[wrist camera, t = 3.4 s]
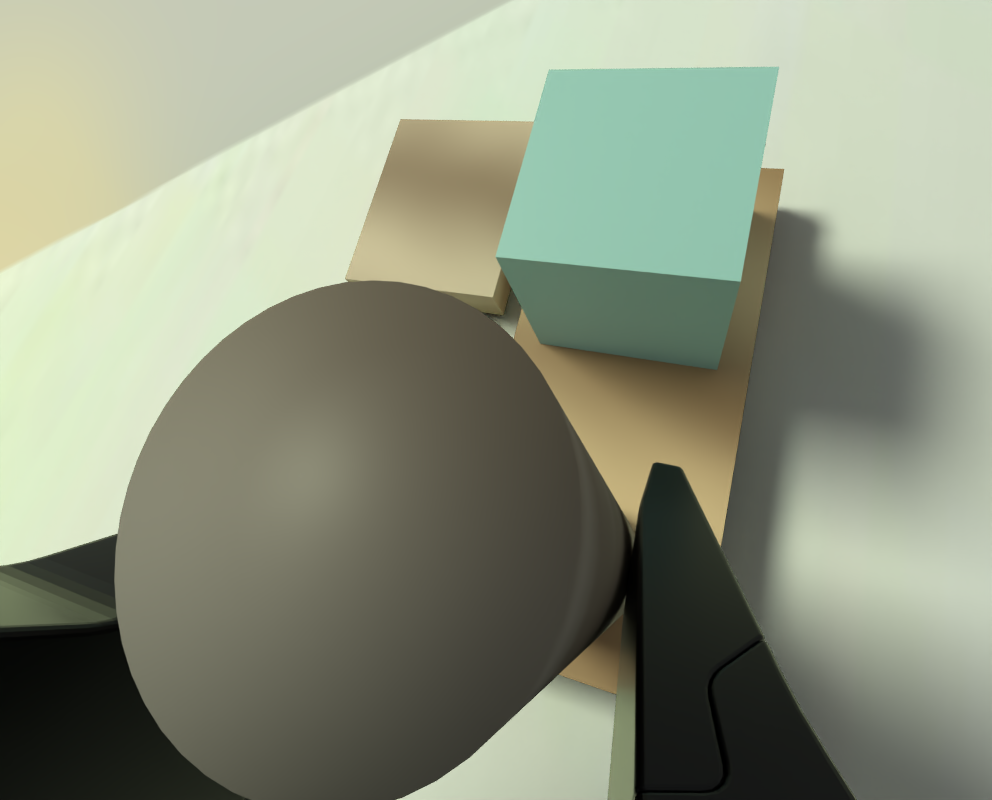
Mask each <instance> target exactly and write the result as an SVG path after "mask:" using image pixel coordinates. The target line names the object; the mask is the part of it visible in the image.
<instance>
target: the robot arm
mask: <svg viewBox="0 0 992 800" xmlns="http://www.w3.org/2000/svg"><path fill="white" fill-rule="evenodd" d="M117 536H118V534H115V535H112V536H109V537H105V538H102V539H99V540H96V541H93V542H89V543H86V544H83V545H80V546H77V547H73V548H70V549H67V550H64V551H60V552H57V553H54V554H51V555H48V556H44V557H41V558H37V559H34V560H30V561H26V562H21V563H16V564H10V565H3V566H0V800H250V799H248V798H245V797H243V796H240V795H238V794H236V793H233V792H231V791H230V790H228V789H227V788H225V787H223V786H222V785H220V784H219V783H217V782H215V781H214V780H212V779H211V778H209V777H207V776H206V775H205V774H203V773H202V772H201V771H200V770H199V769H198V768H197V767H195V766H194V765H193V764H192V763H191V762H190V761H188V760H187V759H186V758H185V757H184V756H183V755H182V754H181V753H180V752H179V751H178V750H177V748H176V747H175V746H174V745H173V744H172V743H171V741H170V740H169V739H168V738H167V737H166V735H165V734H164V733H163V732H162V731H161V729H160V728H159V726H158V724H157V723H156V721H155V720H154V718H153V716H152V715H151V713H150V711H149V710H148V708H147V707H146V705H145V703H144V701H143V699H142V697H141V695H140V692H139V690H138V688H137V686H136V683H135V681H134V679H133V677H132V674H131V672H130V668H129V665H128V662H127V658H126V655H125V652H124V648H123V645H122V641H121V635H120V629H119V624H118V618H117V612H116V598H115V582H114V577H115V554H116V543H117ZM608 800H857V799H856V798H855V796H854V794H853V793H852V791H851V790H850V788H849V787H848V785H847V783H846V782H845V780H844V779H843V777H842V776H841V774H840V772H839V771H838V769H837V768H836V766H835V764H834V763H833V761H832V760H831V758H830V756H829V755H828V753H827V751H826V750H825V748H824V746H823V745H822V743H821V741H820V740H819V738H818V736H817V735H816V733H815V732H814V730H813V728H812V727H811V725H810V723H809V722H808V720H807V718H806V717H805V715H804V713H803V712H802V710H801V708H800V706H799V704H798V702H797V700H796V698H795V696H794V694H793V693H792V691H791V689H790V687H789V685H788V683H787V681H786V679H785V677H784V676H783V674H782V672H781V670H780V668H779V666H778V664H777V662H776V659H775V657H774V655H773V653H772V651H771V649H770V647H769V645H768V643H767V642H765V641H764V635H763V633H762V631H761V629H760V627H759V625H758V623H757V621H756V619H755V617H754V615H753V613H752V611H751V609H750V607H749V604H748V602H747V600H746V598H745V596H744V594H743V592H742V590H741V588H740V586H739V584H738V582H737V580H736V578H735V576H734V574H733V572H732V570H731V567H730V565H729V563H728V561H727V559H726V557H725V555H724V553H723V551H722V549H721V547H720V545H719V543H718V541H717V539H716V537H715V535H714V533H713V531H712V528H711V526H710V524H709V522H708V520H707V518H706V516H705V514H704V512H703V510H702V508H701V506H700V504H699V502H698V500H697V498H696V496H695V494H694V491H693V489H692V487H691V485H690V483H689V481H688V479H687V477H686V475H685V473H684V471H683V469H682V468H681V467H679V466H674V465H669V464H664V463H659V462H656V463H653V464H652V466H651V470H650V473H649V476H648V479H647V482H646V486H645V489H644V492H643V495H642V498H641V502H640V506H639V511H638V518H637V524H636V531H635V538H634V545H633V552H632V558H631V565H630V572H629V579H628V585H627V592H626V599H625V606H624V614H623V622H622V634H621V646H620V658H619V670H618V682H617V694H616V706H615V718H614V729H613V741H612V753H611V765H610V777H609V789H608Z"/></svg>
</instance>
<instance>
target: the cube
mask: <svg viewBox="0 0 992 800" xmlns="http://www.w3.org/2000/svg"><path fill="white" fill-rule="evenodd" d="M778 70H779V67H726V68H648V69H570V70H549V72H548V75H547V78H546V82H545V85H544V89H543V92H542V96H541V99H540V103H539V106H538V110H537V113H536V117H535V120H534V124H533V127H532V131H531V134H530V138H529V141H528V145H527V148H526V152H525V155H524V159H523V162H522V166H521V169H520V173H519V176H518V180H517V183H516V187H515V190H514V193H513V197H512V200H511V204H510V207H509V211H508V214H507V218H506V221H505V225H504V228H503V232H502V235H501V239H500V242H499V246H498V249H497V253H496V256H495V257H496V259H497V261H498V263H499V265H500V267H501V269H502V271H503V273H504V275H505V276H506V278H507V280H508V282H509V284H510V286H511V288H512V290H513V292H514V294H515V296H516V298H517V300H518V302H519V304H520V305H521V307H522V309H523V311H524V313H525V315H526V317H527V319H528V321H529V323H530V325H531V327H532V329H533V331H534V332H535V334H536V336H537V338H538V340H539V342H540V344H546V345H553V346H560V347H566V348H573V349H580V350H586V351H593V352H600V353H606V354H613V355H620V356H626V357H633V358H640V359H646V360H653V361H660V362H666V363H673V364H680V365H686V366H693V367H700V368H706V369H713V370H717V369H718V365H719V361H720V357H721V354H722V350H723V346H724V342H725V339H726V335H727V331H728V327H729V324H730V320H731V316H732V312H733V309H734V305H735V301H736V297H737V294H738V290H739V286H740V282H741V277H742V271H743V266H744V260H745V255H746V249H747V243H748V238H749V232H750V227H751V221H752V215H753V210H754V204H755V199H756V193H757V187H758V182H759V176H760V171H761V165H762V159H763V154H764V148H765V143H766V137H767V131H768V126H769V120H770V115H771V109H772V103H773V98H774V92H775V87H776V81H777V75H778Z"/></svg>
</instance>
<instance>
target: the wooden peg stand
mask: <svg viewBox="0 0 992 800" xmlns="http://www.w3.org/2000/svg"><path fill="white" fill-rule="evenodd" d="M783 173H784V169H769V168H761V171H760V176H759V182H758V187H757V193H756V199H755V204H754V210H753V215H752V221H751V227H750V232H749V238H748V243H747V249H746V255H745V260H744V266H743V271H742V277H741V282H740V286H739V290H738V294H737V297H736V301H735V305H734V309H733V312H732V316H731V320H730V324H729V327H728V331H727V335H726V339H725V342H724V346H723V350H722V354H721V357H720V361H719V365H718V369H717V370H713V369H706V368H700V367H693V366H686V365H680V364H673V363H666V362H660V361H653V360H646V359H640V358H633V357H626V356H620V355H613V354H606V353H600V352H593V351H586V350H580V349H573V348H566V347H560V346H553V345H546V344H540V342H539V340H538V338H537V336H536V334H535V332H534V331H533V329H532V327H531V325H530V323H529V321H528V319H527V317H526V315H525V313H524V311H523V309H522V310H521V314H520V317H519V321H518V325H517V328H516V332H515V336H514V339H513V338H512V337H511V336H510V335H509V334H508V333H507V332H506V331H505V330H504V329H503V328H502V327H501V326H500V325H498V324H497V323H495V322H494V321H493V320H491V319H490V318H489V317H487V316H486V315H484V314H483V313H482V312H480V311H479V310H477V309H476V308H474V307H472V306H470V305H468V304H466V303H464V302H462V301H460V300H459V299H457V298H455V297H453V296H450V295H448V294H445V293H442V292H439V291H436V290H433V289H430V288H427V287H423V286H418V285H413V284H408V283H403V282H394V281H376V280H370V281H357V282H345V283H340V284H335V285H331V286H326V287H321V288H317V289H314V290H311V291H308V292H305V293H302V294H299V295H296V296H294V297H291V298H289V299H287V300H285V301H283V302H281V303H279V304H276V305H274V306H272V307H270V308H268V309H267V310H265V311H263V312H262V313H260V314H258V315H257V316H255V317H253V318H252V319H250V320H249V321H247V322H245V323H244V324H243V325H241V326H240V327H239V328H237V329H236V330H235V331H233V332H232V333H231V334H230V335H228V336H227V337H226V338H224V339H223V340H222V341H221V342H220V343H219V344H218V345H217V346H216V347H214V348H213V349H212V350H211V351H210V352H209V353H208V354H207V355H206V356H205V357H204V358H203V359H202V360H201V361H200V362H199V363H198V364H197V366H196V367H195V368H194V369H193V370H192V371H191V372H190V374H189V375H188V376H187V377H186V378H185V379H184V380H183V382H182V383H181V384H180V386H179V387H178V389H177V390H176V391H175V393H174V394H173V396H172V397H171V398H170V400H169V401H168V403H167V404H166V405H165V407H164V409H163V411H162V412H161V414H160V416H159V417H158V419H157V421H156V423H155V424H154V426H153V428H152V429H151V431H150V433H149V436H148V438H147V440H146V442H145V444H144V446H143V449H142V451H141V453H140V455H139V457H138V460H137V462H136V465H135V468H134V471H133V474H132V477H131V480H130V482H129V485H128V488H127V492H126V496H125V500H124V504H123V508H122V513H121V517H120V523H119V530H118V536H117V543H116V554H115V577H114V582H115V598H116V612H117V618H118V624H119V629H120V635H121V641H122V645H123V648H124V652H125V655H126V658H127V662H128V665H129V668H130V672H131V674H132V677H133V679H134V681H135V683H136V686H137V688H138V690H139V692H140V695H141V697H142V699H143V701H144V703H145V705H146V707H147V708H148V710H149V711H150V713H151V715H152V716H153V718H154V720H155V721H156V723H157V724H158V726H159V728H160V729H161V731H162V732H163V733H164V734H165V735H166V737H167V738H168V739H169V740H170V741H171V743H172V744H173V745H174V746H175V747H176V748H177V750H178V751H179V752H180V753H181V754H182V755H183V756H184V757H185V758H186V759H187V760H188V761H190V762H191V763H192V764H193V765H194V766H195V767H197V768H198V769H199V770H200V771H201V772H202V773H203V774H205V775H206V776H207V777H209V778H211V779H212V780H214V781H215V782H217V783H219V784H220V785H222V786H223V787H225V788H227V789H228V790H230V791H231V792H233V793H236V794H238V795H240V796H243V797H245V798H248V799H250V800H396V799H399V798H402V797H404V796H406V795H409V794H411V793H413V792H415V791H417V790H419V789H421V788H423V787H425V786H427V785H429V784H431V783H433V782H435V781H437V780H438V779H440V778H441V777H443V776H444V775H445V774H447V773H448V772H450V771H451V770H452V769H454V768H455V767H457V766H458V765H460V764H461V763H462V762H464V761H465V760H467V759H468V758H470V757H471V756H472V755H473V754H474V753H475V752H476V751H477V750H478V749H479V748H480V747H481V746H482V745H483V744H485V743H486V742H487V741H488V740H489V739H490V738H491V737H492V736H493V735H494V734H495V733H496V732H497V731H498V730H500V729H501V728H502V727H503V726H504V725H505V724H506V723H507V722H508V721H509V720H510V719H511V718H512V717H513V716H515V715H516V714H517V713H518V712H519V711H520V710H521V709H522V708H523V707H524V706H525V705H526V704H527V703H529V702H530V701H531V700H532V699H533V698H534V697H535V696H536V695H537V694H538V693H539V692H540V691H541V690H542V689H544V688H545V687H546V686H547V685H548V684H549V683H550V682H551V681H552V680H553V679H554V678H555V677H556V676H557V675H561V676H564V677H567V678H570V679H573V680H576V681H579V682H581V683H584V684H587V685H590V686H593V687H596V688H599V689H602V690H605V691H608V692H611V693H614V694H617V682H618V670H619V658H620V646H621V634H622V622H623V614H624V606H625V599H626V592H627V585H628V579H629V572H630V565H631V558H632V552H633V545H634V538H635V531H636V524H637V518H638V511H639V506H640V502H641V498H642V495H643V492H644V489H645V486H646V482H647V479H648V476H649V473H650V470H651V466H652V464H653V463H656V462H659V463H664V464H669V465H674V466H679V467H681V468H682V469H683V471H684V473H685V475H686V477H687V479H688V481H689V483H690V485H691V487H692V489H693V491H694V494H695V496H696V498H697V500H698V502H699V504H700V506H701V508H702V510H703V512H704V514H705V516H706V518H707V520H708V522H709V524H710V526H711V528H712V531H713V533H714V535H715V537H716V539H717V541H718V543H719V545H720V547H721V542H722V537H723V531H724V525H725V519H726V513H727V507H728V501H729V495H730V489H731V483H732V477H733V471H734V465H735V459H736V453H737V447H738V441H739V435H740V429H741V423H742V417H743V411H744V406H745V400H746V394H747V388H748V382H749V376H750V370H751V364H752V358H753V352H754V346H755V340H756V334H757V328H758V322H759V316H760V310H761V304H762V298H763V292H764V286H765V280H766V274H767V269H768V263H769V257H770V251H771V245H772V239H773V233H774V227H775V221H776V215H777V209H778V203H779V197H780V191H781V185H782V179H783Z"/></svg>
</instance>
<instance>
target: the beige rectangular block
mask: <svg viewBox="0 0 992 800" xmlns="http://www.w3.org/2000/svg"><path fill="white" fill-rule="evenodd" d="M533 124H534V122H521V121H466V120H410V119H401V120H400V123H399V125H398V128H397V131H396V134H395V137H394V140H393V143H392V145H391V148H390V151H389V154H388V157H387V160H386V163H385V166H384V168H383V171H382V174H381V177H380V180H379V183H378V186H377V188H376V191H375V194H374V197H373V200H372V203H371V206H370V209H369V211H368V214H367V217H366V220H365V223H364V226H363V229H362V231H361V234H360V237H359V240H358V243H357V246H356V249H355V251H354V254H353V257H352V260H351V263H350V266H349V269H348V272H347V274H346V277H345V279H346V280H347V281H348V282H357V281H370V280H376V281H394V282H403V283H408V284H413V285H418V286H423V287H427V288H430V289H433V290H436V291H439V292H442V293H445V294H448V295H450V296H453V297H455V298H457V299H459V300H460V301H462V302H464V303H466V304H468V305H470V306H472V307H474V308H476V309H477V310H479V311H480V312H484V313H492V314H499V315H504V311H505V308H506V304H507V301H508V297H509V293H510V290H511V286H510V284H509V282H508V280H507V278H506V276H505V275H504V273H503V271H502V269H501V267H500V265H499V263H498V261H497V259H496V257H495V256H496V253H497V249H498V246H499V242H500V239H501V235H502V232H503V228H504V225H505V221H506V218H507V214H508V211H509V207H510V204H511V200H512V197H513V193H514V190H515V187H516V183H517V180H518V176H519V173H520V169H521V166H522V162H523V159H524V155H525V152H526V148H527V145H528V141H529V138H530V134H531V131H532V127H533Z"/></svg>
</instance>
